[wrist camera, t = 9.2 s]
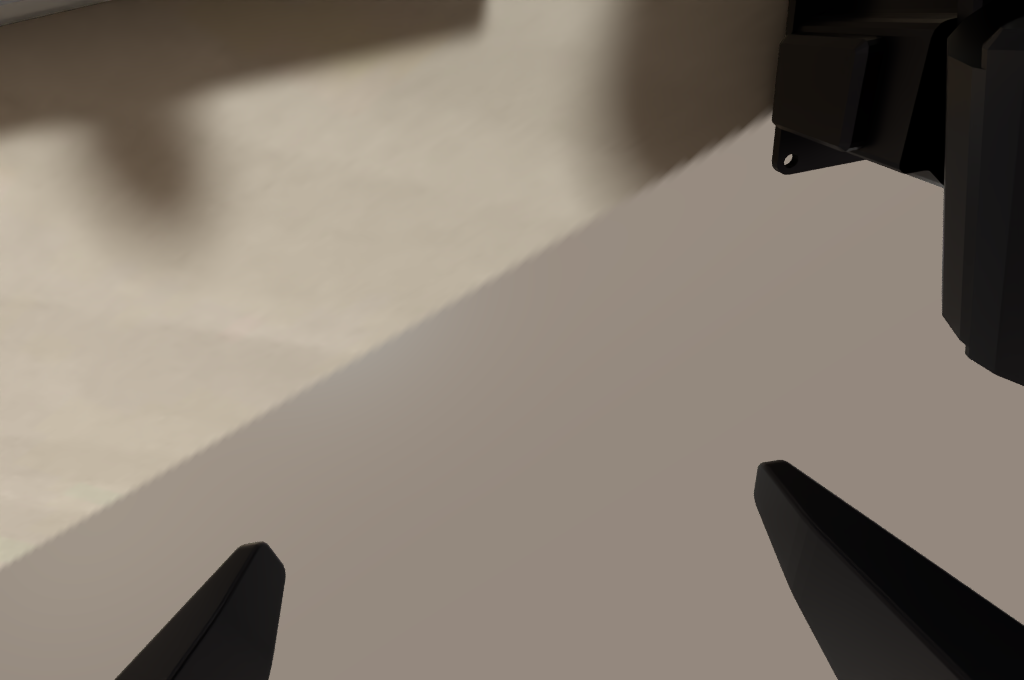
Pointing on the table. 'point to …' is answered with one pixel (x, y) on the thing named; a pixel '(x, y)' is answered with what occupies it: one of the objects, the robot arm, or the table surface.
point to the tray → (37, 8)
